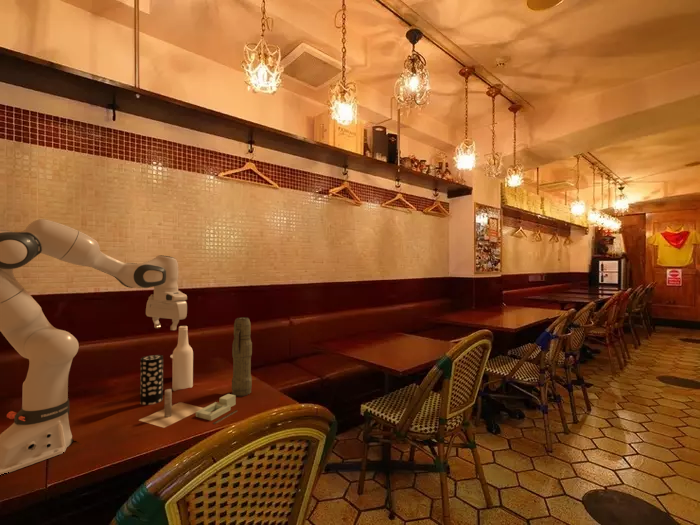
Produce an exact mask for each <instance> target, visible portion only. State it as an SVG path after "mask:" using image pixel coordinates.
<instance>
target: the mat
mask: <svg viewBox="0 0 700 525" xmlns="http://www.w3.org/2000/svg"><path fill="white" fill-rule="evenodd" d="M237 412H238V410H237V409H236V410H234V411H231V413H228V414H227V415H225V416H223V417H221V418H220V419H218V420H216V421H214V422H212V424H213V425H216V424H218V423H220V422H222V421H223V420H225V419H226V418H229V417H230V416H232V415H234V414H236V413H237Z"/></svg>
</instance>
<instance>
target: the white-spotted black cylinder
mask: <svg viewBox="0 0 700 525" xmlns="http://www.w3.org/2000/svg"><path fill="white" fill-rule="evenodd" d="M139 380H140V381H139V382H140V387H139V388H140V389H139V390H140V391H139V392H140V393H139V394H140V395H139V396H140V398H139V405H143V406H149V405H157V404H159V403H160V402H162V401H164V400H163V399H164V396H163V395H164V393H163V390H164V355H161V354H154V355H153V354H152V355H146V356H142V357H141V358H140V379H139Z"/></svg>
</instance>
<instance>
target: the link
mask: <svg viewBox="0 0 700 525" xmlns="http://www.w3.org/2000/svg"><path fill="white" fill-rule="evenodd" d="M236 397H237V396H236V395H232V393H231V394H230V393H227V394H225V395H223V396H221V397H219V402H218V401H217V402H216V401H215V402H213V403H211V404H209V405H207V406H205V407H202V408H203V409H201V410H198V411H196V413H195V417H196V418H199V419H204V420H207V421H210V422H211V421H213V420H215V419H217V418H219V417H221V416H222V415H225V414H226V413H228V412H229V411H232V410H231V409H232V408H231V407H234V406H236V405H237V404H236V403H237V402H236V399H237V398H236Z"/></svg>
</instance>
